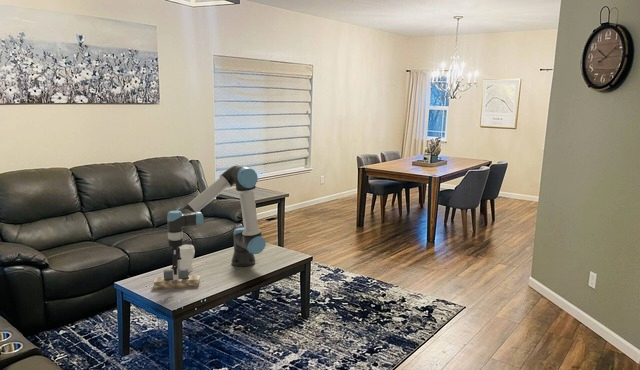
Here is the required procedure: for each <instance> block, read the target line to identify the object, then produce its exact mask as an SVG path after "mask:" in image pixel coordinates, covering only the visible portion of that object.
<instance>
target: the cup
mask: <svg viewBox="0 0 640 370" xmlns="http://www.w3.org/2000/svg"><path fill="white" fill-rule="evenodd" d="M179 248H180V256H181V257H180V258H182V259H180V265H181V269H188V273H190V272H192V271H193V270H194V269H193V260H194V258H195V254H196V253H195V252H196V250H195V246H194V245H193V244H183V245H182V246H180V247H179Z"/></svg>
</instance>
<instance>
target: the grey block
mask: <svg viewBox="0 0 640 370" xmlns="http://www.w3.org/2000/svg"><path fill="white" fill-rule="evenodd" d="M189 276H190V275H189V272H188V269H178V279H188V277H189ZM163 277H164V280H173V269H164V270H163Z"/></svg>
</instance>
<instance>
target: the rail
mask: <svg viewBox="0 0 640 370" xmlns="http://www.w3.org/2000/svg"><path fill="white" fill-rule="evenodd" d="M200 279H201V277H200V274H194V275H189V277H188V279H178V280H164V276H161V277H155V278H154V281H153V289H154V290H162V289H178V288H192V287H193V288H195V287H200V284H201V281H200Z"/></svg>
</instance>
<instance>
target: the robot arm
mask: <svg viewBox="0 0 640 370" xmlns="http://www.w3.org/2000/svg"><path fill="white" fill-rule="evenodd" d="M258 179H259V177H258V173H257V172H256V170H254V168H251V167H249V166H244V165H239V164H235V165H233V166H231V167H229V168H228V169H226V170H225V171H224V172H223V173H221V174H220V175H219V178H218V179H217V180H215V181H214V182H212V183H211V184H210V185H209V186H208V187H207V188H206V189H204V190H203V191H201V192H200V193H199V194H198V195H197V196H195V198H193V199H192V200H191V201H190V202H188V203H187V204H185V206H182V207H181V206H180V207H179V208H177V209H176V210H170V211H168V212H167V216H166V221H167V233H166V235H167V236H168V247H170V248H171V252H172V254H171V256H172V258H171V259H172V260H171V262H172V265H171V267H170V270H173V280H178V269H181V265H180V259H182V258H180V257H181V256H180V248H179V247H180V246H182V245H184V243H183V242H184V240H183V238H184V237H183V228H188V227H195V226H200V225H203V224H204V214H203V213H202V212H201V210H202V209H203V208H205V207H206V206H207V205H209V203H211V202H212V201H213V200H214V199H215V198H217V197H218V196H219V195H221V194H222V193H223V192H224V191H226V190H227V189H230V188H231V187H234V186H235V189H236V192H237V193H239V194H238V195H239V201H240V207H241V208H240V209H241V214H242V215H241V217H242V224H243V227H237V228H235V229H234V230H233V254H232V257H231V265H232V266H236V267H248V266H253V265H254V264H255V263H256V257H255V255H258V254H261V253H262V252H264V249H265V248H266V245H267V242H266V239H265V238H264V237H263V234H262V233H263V232H262V229H260V228H259V223H258V215H257V208H256V207H257V206H256V201H255V200H256V198H255V193H254V191H255V190H256V188H257V187H256V184H257V183H258Z"/></svg>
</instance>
